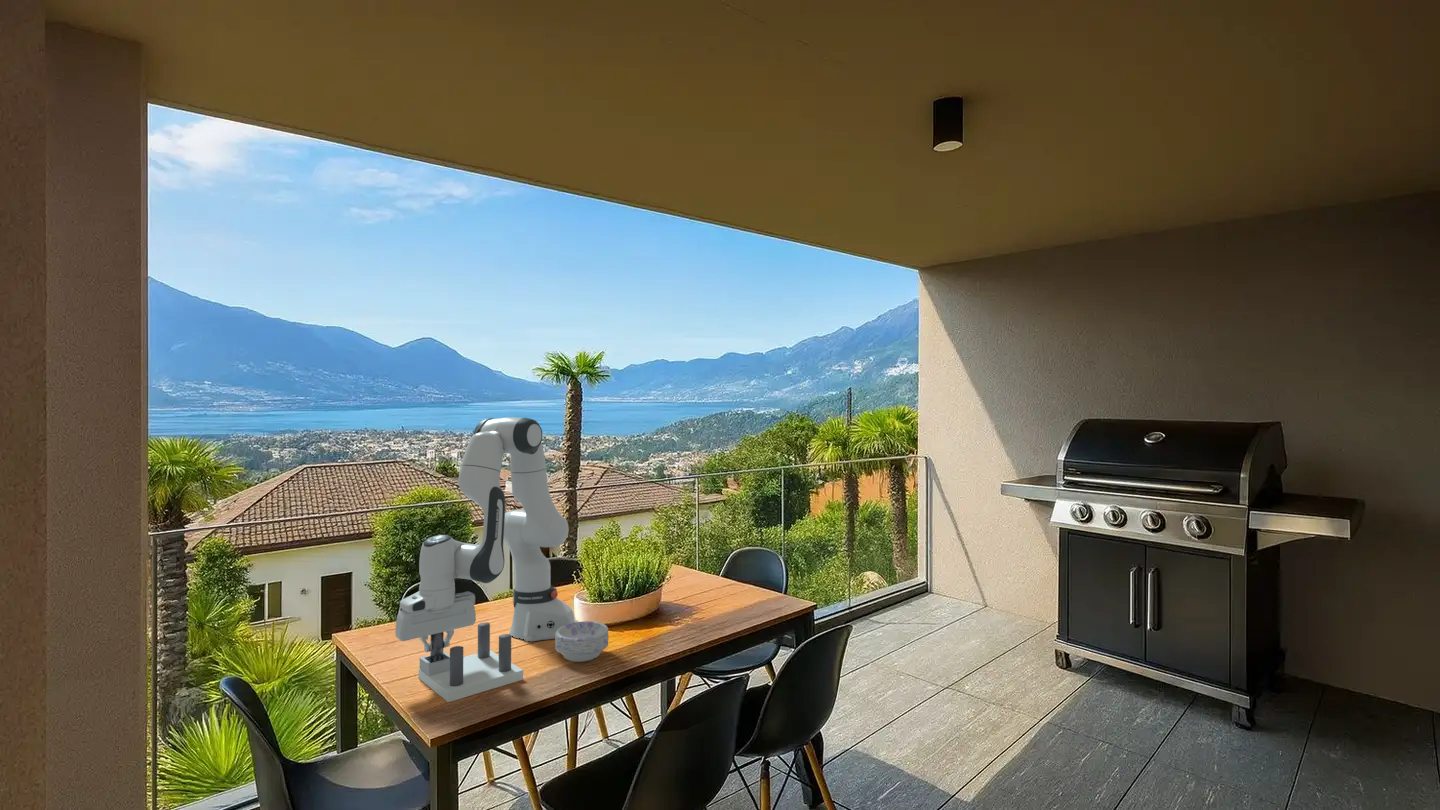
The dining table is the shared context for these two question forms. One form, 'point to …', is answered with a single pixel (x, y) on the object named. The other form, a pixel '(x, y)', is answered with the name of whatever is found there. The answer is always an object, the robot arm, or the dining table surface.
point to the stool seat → (471, 668)
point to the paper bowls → (581, 640)
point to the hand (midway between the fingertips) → (436, 649)
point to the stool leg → (437, 647)
